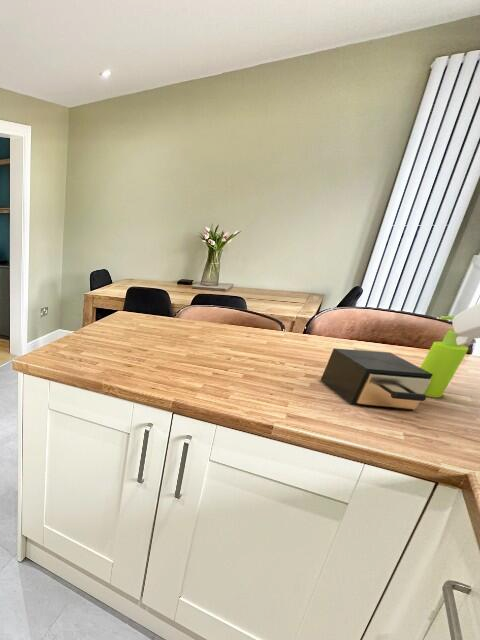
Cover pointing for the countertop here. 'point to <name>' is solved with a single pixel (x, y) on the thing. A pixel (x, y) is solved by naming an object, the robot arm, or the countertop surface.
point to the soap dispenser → (443, 362)
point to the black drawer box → (363, 371)
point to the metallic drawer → (393, 390)
